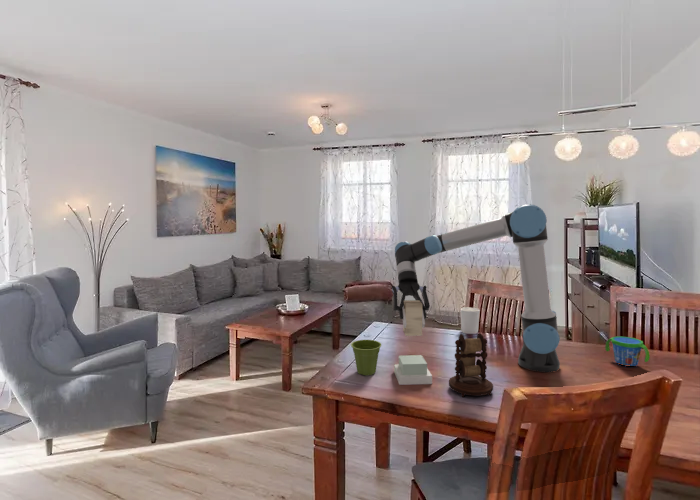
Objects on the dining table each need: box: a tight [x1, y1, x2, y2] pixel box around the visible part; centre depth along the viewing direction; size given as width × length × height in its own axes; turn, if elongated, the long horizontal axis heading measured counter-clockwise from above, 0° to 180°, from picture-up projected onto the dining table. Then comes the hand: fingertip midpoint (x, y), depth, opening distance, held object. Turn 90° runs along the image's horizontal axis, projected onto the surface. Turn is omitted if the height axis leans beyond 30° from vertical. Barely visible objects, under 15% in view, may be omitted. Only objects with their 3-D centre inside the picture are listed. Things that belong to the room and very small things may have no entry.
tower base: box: [393, 354, 433, 386], centre depth 148 cm, size 12×12×7 cm
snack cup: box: [604, 335, 650, 367], centre depth 159 cm, size 16×10×10 cm
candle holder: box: [460, 306, 481, 335], centre depth 207 cm, size 10×10×12 cm
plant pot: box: [350, 339, 382, 376], centre depth 154 cm, size 12×12×11 cm
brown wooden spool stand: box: [448, 332, 494, 398], centre depth 137 cm, size 15×15×20 cm
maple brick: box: [402, 299, 423, 337], centre depth 148 cm, size 6×6×12 cm
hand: (414, 325), depth 144 cm, fingers closed on maple brick, 6 cm apart
